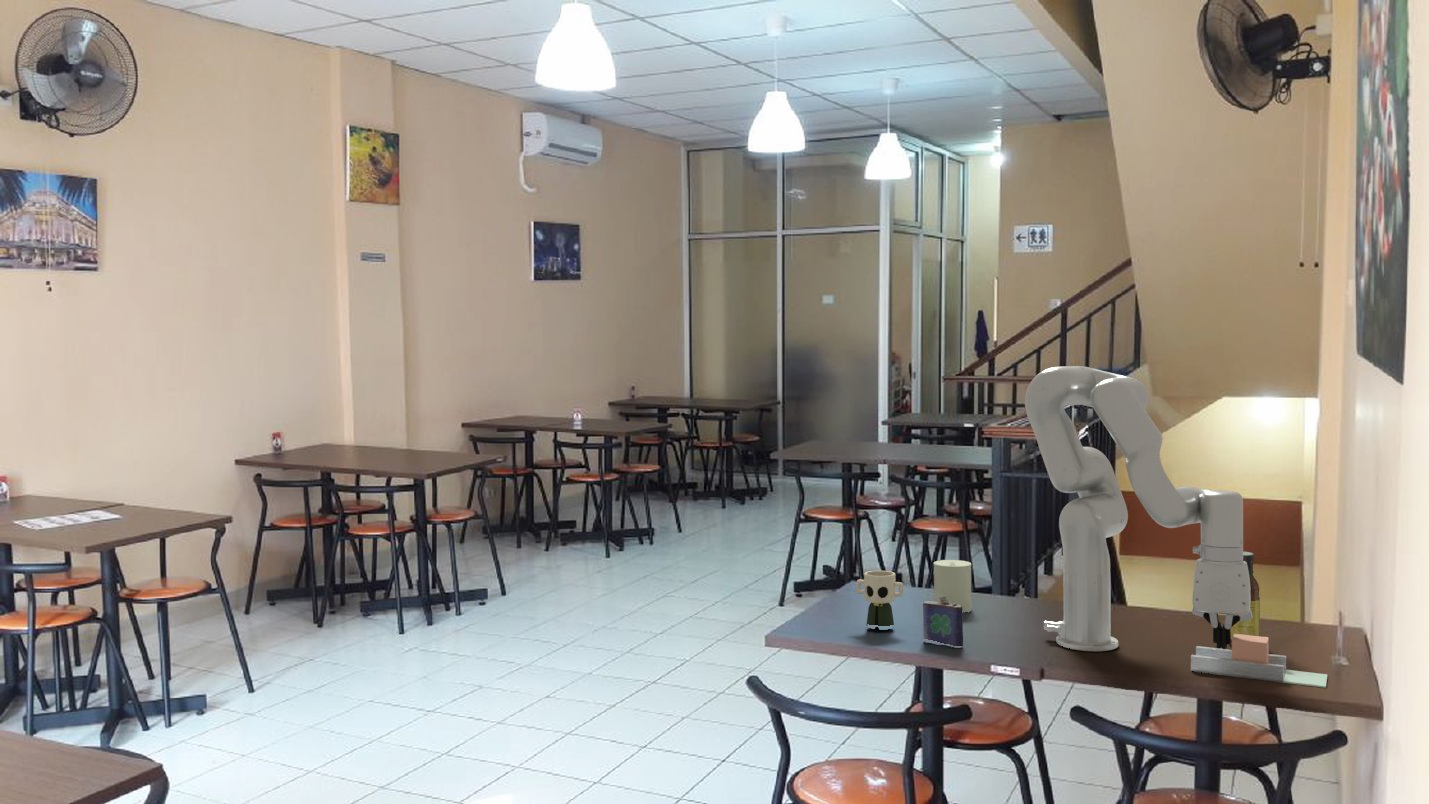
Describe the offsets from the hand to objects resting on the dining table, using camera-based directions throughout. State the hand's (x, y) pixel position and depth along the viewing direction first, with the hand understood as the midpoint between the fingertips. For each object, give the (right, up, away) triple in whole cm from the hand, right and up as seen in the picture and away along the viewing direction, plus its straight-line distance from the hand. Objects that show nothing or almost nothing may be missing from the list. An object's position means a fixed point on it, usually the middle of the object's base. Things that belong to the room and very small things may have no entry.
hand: (1221, 647), depth 214 cm
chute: (+3, -4, -1) cm, 5 cm away
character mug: (-61, -4, +36) cm, 71 cm away
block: (+4, -4, -2) cm, 6 cm away
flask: (-50, -5, +22) cm, 55 cm away
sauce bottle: (+12, -4, +17) cm, 22 cm away
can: (-41, -3, +55) cm, 68 cm away
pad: (+12, -5, -7) cm, 15 cm away
